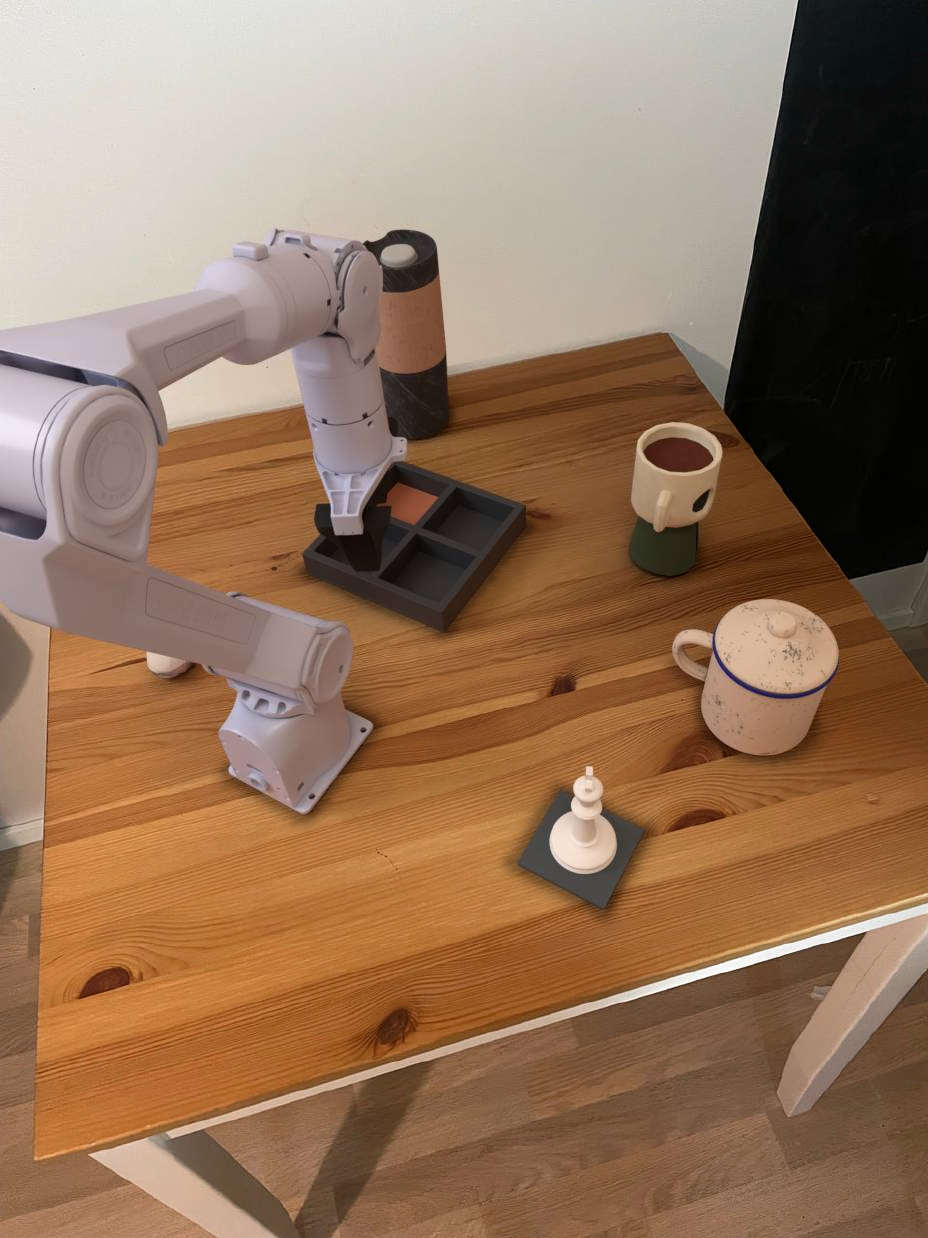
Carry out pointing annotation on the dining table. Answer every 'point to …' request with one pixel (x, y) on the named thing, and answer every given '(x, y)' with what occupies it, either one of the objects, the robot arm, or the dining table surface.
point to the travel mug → (412, 333)
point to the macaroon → (166, 665)
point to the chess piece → (584, 830)
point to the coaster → (584, 886)
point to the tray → (427, 546)
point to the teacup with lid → (762, 674)
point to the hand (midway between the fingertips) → (371, 533)
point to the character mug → (672, 494)
